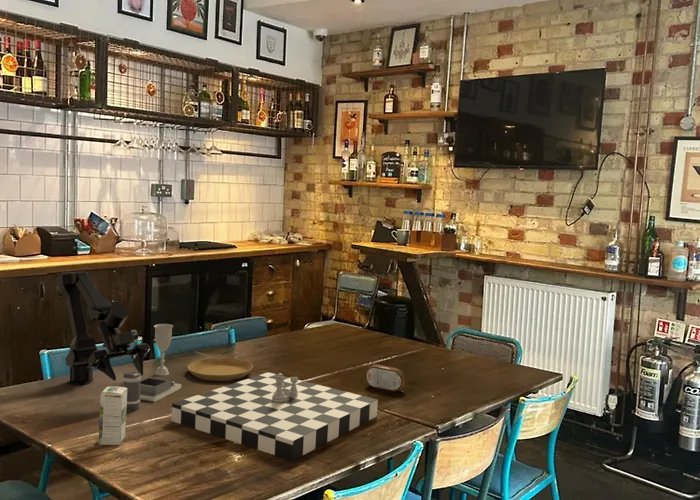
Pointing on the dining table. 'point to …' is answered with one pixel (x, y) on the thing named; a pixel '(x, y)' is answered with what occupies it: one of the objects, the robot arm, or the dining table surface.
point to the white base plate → (156, 388)
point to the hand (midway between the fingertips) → (128, 377)
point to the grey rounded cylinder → (132, 390)
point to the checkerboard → (275, 414)
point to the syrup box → (112, 415)
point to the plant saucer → (220, 369)
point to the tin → (385, 377)
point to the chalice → (163, 344)
